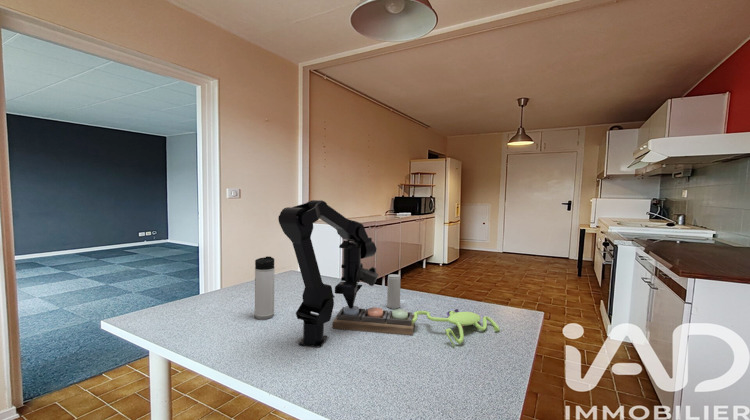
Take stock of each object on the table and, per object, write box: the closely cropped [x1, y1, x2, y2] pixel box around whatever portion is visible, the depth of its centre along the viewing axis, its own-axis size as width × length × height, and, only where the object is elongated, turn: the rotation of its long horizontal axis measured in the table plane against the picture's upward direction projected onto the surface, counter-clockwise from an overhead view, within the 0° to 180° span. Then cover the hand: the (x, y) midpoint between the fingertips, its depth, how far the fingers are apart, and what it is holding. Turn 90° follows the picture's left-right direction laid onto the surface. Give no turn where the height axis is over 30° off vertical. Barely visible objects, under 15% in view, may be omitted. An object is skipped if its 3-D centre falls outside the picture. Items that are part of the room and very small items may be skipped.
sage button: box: [391, 308, 409, 320], centre depth 104 cm, size 5×5×2 cm
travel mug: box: [254, 256, 275, 321], centre depth 111 cm, size 6×7×20 cm
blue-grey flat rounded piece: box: [343, 305, 359, 316], centre depth 107 cm, size 5×5×2 cm
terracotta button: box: [367, 307, 383, 318], centre depth 106 cm, size 5×5×2 cm
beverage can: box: [386, 273, 401, 310], centre depth 123 cm, size 5×5×12 cm
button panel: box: [332, 306, 415, 336], centre depth 106 cm, size 12×25×4 cm, turn 80°
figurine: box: [411, 308, 500, 349], centre depth 103 cm, size 18×27×6 cm
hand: (351, 308), depth 107 cm, fingers closed, pressing on blue-grey flat rounded piece
